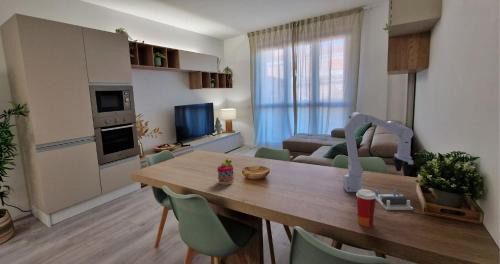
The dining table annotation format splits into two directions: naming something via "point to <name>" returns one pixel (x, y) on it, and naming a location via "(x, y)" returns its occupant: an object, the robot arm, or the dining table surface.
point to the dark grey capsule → (395, 199)
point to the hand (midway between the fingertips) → (402, 173)
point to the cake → (225, 173)
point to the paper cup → (365, 207)
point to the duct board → (392, 206)
